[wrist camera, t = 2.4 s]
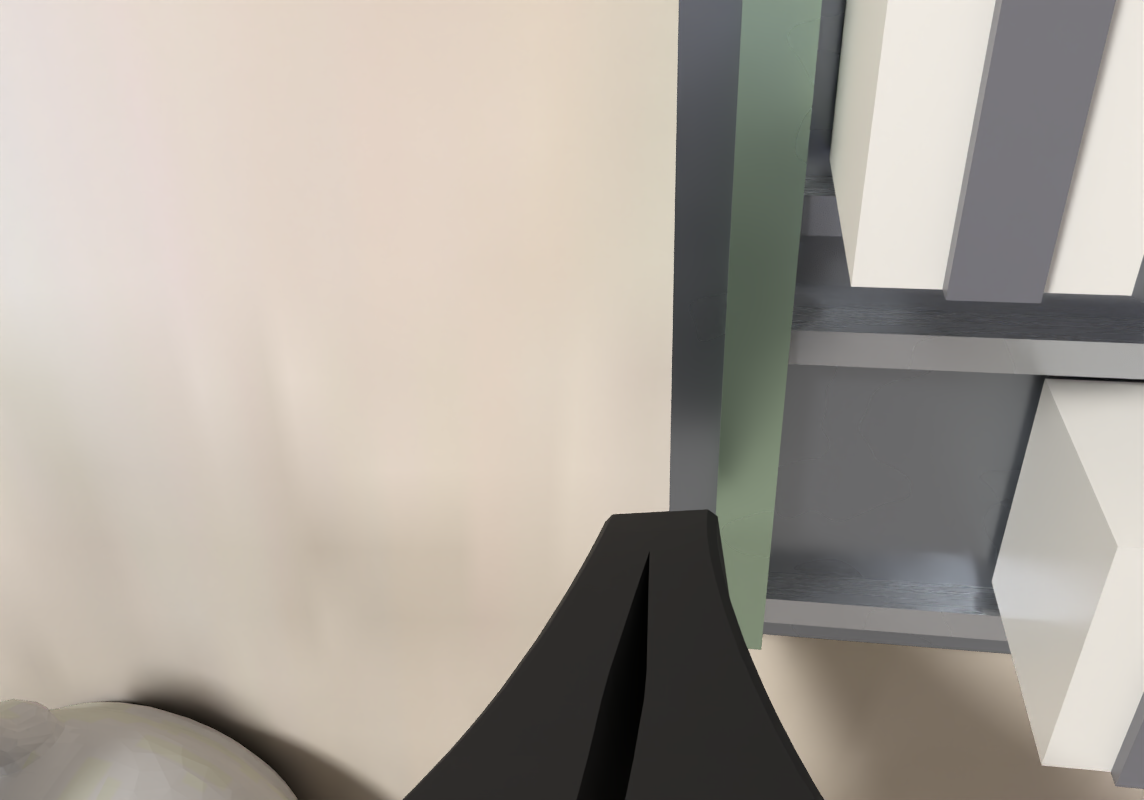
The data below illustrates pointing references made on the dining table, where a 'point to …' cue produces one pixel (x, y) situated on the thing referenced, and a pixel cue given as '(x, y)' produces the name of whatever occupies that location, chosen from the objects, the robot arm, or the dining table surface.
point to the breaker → (991, 146)
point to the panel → (841, 364)
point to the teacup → (124, 756)
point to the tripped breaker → (1080, 578)
